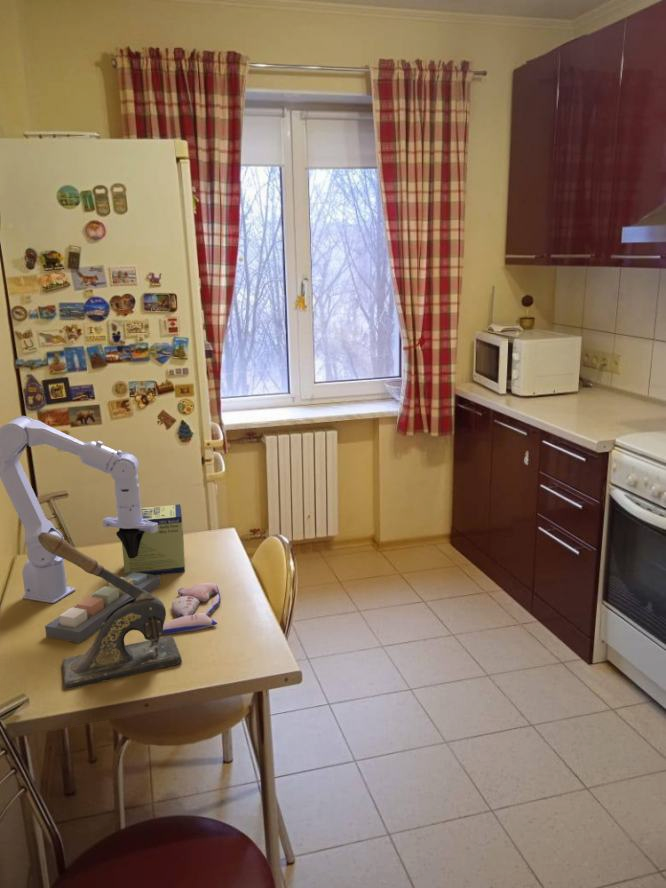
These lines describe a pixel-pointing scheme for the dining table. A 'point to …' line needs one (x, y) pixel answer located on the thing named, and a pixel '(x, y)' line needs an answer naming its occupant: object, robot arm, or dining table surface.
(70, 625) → the key ivory
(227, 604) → the dining table surface
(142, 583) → the keypad board
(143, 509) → the protein powder box
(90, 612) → the key terracotta
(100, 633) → the embossing press
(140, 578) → the key blue
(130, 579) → the key ochre
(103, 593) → the key sage
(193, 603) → the anatomical model
